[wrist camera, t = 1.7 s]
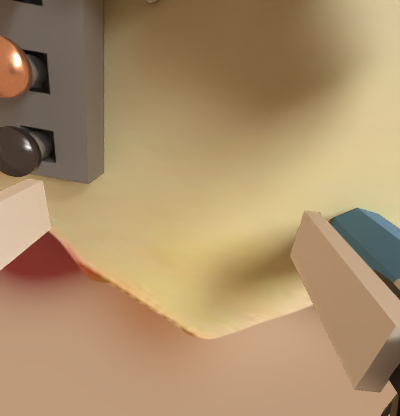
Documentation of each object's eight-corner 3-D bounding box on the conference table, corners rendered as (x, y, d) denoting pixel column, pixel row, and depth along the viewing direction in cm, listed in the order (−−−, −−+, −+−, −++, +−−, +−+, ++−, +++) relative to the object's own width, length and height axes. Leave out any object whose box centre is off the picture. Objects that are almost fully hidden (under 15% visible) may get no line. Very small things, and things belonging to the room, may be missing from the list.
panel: (-10, -63, 26) (-58, -98, 21) (103, -40, 26) (81, -69, 21) (22, 158, 36) (-5, 167, 31) (103, 172, 36) (88, 183, 31)
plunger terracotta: (5, 39, 25) (-42, 26, 21) (54, 48, 26) (19, 38, 21) (13, 93, 28) (-28, 92, 23) (58, 101, 28) (27, 102, 23)
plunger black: (16, 118, 29) (-21, 123, 24) (60, 126, 29) (31, 132, 24) (23, 160, 31) (-11, 172, 26) (63, 167, 31) (37, 180, 26)
